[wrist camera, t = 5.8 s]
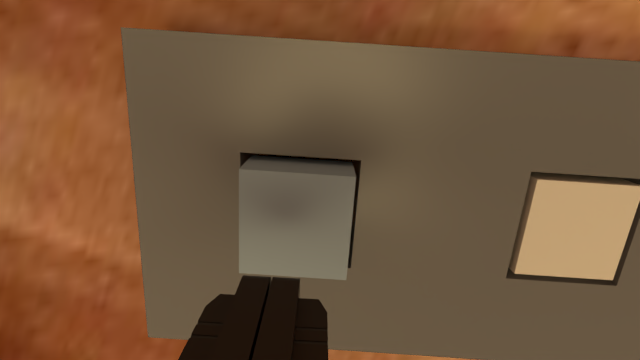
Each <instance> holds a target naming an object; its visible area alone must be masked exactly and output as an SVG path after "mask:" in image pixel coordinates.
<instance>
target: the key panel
mask: <svg viewBox="0 0 640 360" xmlns="http://www.w3.org/2000/svg"><path fill="white" fill-rule="evenodd" d="M121 34H122V45H123V57H124V68H125V80H126V91H127V102H128V114H129V125H130V136H131V148H132V159H133V171H134V182H135V193H136V205H137V216H138V228H139V239H140V250H141V262H142V273H143V284H144V296H145V307H146V319H147V330H148V337H154V338H169V339H184V340H189V338H191V334H192V332H193V330H194V328H195V326H196V324H198V320H199V318H200V316H201V314H202V312H203V310H204V308H205V306H206V305H207V304H209V303H210V302H211V301H212V300H213V299H215V298H216V297H217V296H218V295H219V294H232V295H235V293H236V291H237V288H238V286H239V283H240V281H241V278H242V276H243V275H247V276H265V277H271V280H272V278H273V277H285V278H300V297H299V298H306V299H319V300H320V302H321V303H322V305H323V306H324V308H325V310H326V311H327V321H328V349H333V350H348V351H362V352H377V353H392V354H407V355H422V356H437V357H451V358H466V359H481V360H640V201H639V204H638V207H637V210H636V213H635V216H634V219H633V222H632V225H631V228H630V231H629V234H628V237H627V240H626V243H625V246H624V249H623V252H622V255H621V258H620V260H619V263H618V266H617V269H616V272H615V275H614V278H613V280H601V279H586V278H571V277H556V276H541V275H526V274H514V273H513V272H512V271H511V269H510V268H509V263H510V259H511V255H512V251H513V246H514V242H515V238H516V234H517V230H518V225H519V221H520V217H521V213H522V209H523V205H524V200H525V196H526V192H527V188H528V184H529V179H530V175H531V172H544V173H559V174H574V175H589V176H604V177H619V178H622V179H625V180H627V181H630V182H633V183H636V184H639V185H640V62H639V61H624V60H609V59H593V58H578V57H563V56H548V55H532V54H517V53H502V52H487V51H471V50H456V49H441V48H426V47H410V46H395V45H380V44H365V43H349V42H334V41H319V40H304V39H289V38H273V37H258V36H243V35H228V34H212V33H197V32H182V31H167V30H151V29H136V28H121ZM258 154H272V155H287V156H302V157H317V158H332V159H347V160H353V167H354V171H355V174H356V184H355V195H354V205H353V216H352V226H351V237H350V247H349V258H348V268H347V279H346V280H335V279H321V278H306V277H291V276H276V275H261V274H246V273H239V168H240V167H241V166H242V165H243V164H244V163H245V162H246V161H247V160H248V159H249V158H250V157H251V156H252V155H256V156H258Z"/></svg>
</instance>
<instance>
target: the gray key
mask: <svg viewBox="0 0 640 360" xmlns="http://www.w3.org/2000/svg"><path fill="white" fill-rule="evenodd" d="M355 184H356V174H355V171H354V167H353V163H352V162H347V161H331V160H316V159H301V158H286V157H271V156H256V155H252V156H251V157H250V158H249V159H248V160H247V161H246V162H245V163H244V164H243V165H242V166H241V167H240V168H239V273H246V274H261V275H276V276H291V277H306V278H321V279H335V280H346V279H347V268H348V258H349V247H350V237H351V226H352V216H353V205H354V195H355Z"/></svg>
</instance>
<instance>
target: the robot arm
mask: <svg viewBox="0 0 640 360" xmlns="http://www.w3.org/2000/svg"><path fill="white" fill-rule="evenodd" d="M299 297H300V278H285V277H273V278H272V280H271V277H265V276H247V275H243V276H242V278H241V281H240V283H239V286H238V288H237V291H236V293H235V295H232V294H219V295H218V296H217V297H216V298H215V299H213V300H212V301H211V302H210V303H209V304H207V305H206V306H205V308H204V310H203V312H202V314H201V316H200V318H199V320H198V324H196V326H195V328H194V330H193V332H192V334H191V338H189V340H188V342H187V344H186V345H185V347H184V349H183V351H182V353H181V355H180V357H179V359H178V360H328V321H327V311H326V310H325V308H324V306H323V305H322V303H321V302H320V300H319V299H306V298H299Z"/></svg>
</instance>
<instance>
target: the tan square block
mask: <svg viewBox="0 0 640 360" xmlns="http://www.w3.org/2000/svg"><path fill="white" fill-rule="evenodd" d="M639 201H640V185H639V184H636V183H633V182H630V181H627V180H625V179H622V178H619V177H604V176H589V175H574V174H559V173H544V172H531V175H530V179H529V184H528V188H527V192H526V196H525V200H524V205H523V209H522V213H521V217H520V221H519V225H518V230H517V234H516V238H515V242H514V246H513V251H512V255H511V259H510V263H509V268H510V269H511V271H512V272H513V273H514V274H526V275H541V276H556V277H571V278H586V279H601V280H613V278H614V275H615V272H616V269H617V266H618V263H619V260H620V258H621V255H622V252H623V249H624V246H625V243H626V240H627V237H628V234H629V231H630V228H631V225H632V222H633V219H634V216H635V213H636V210H637V207H638V204H639Z"/></svg>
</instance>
